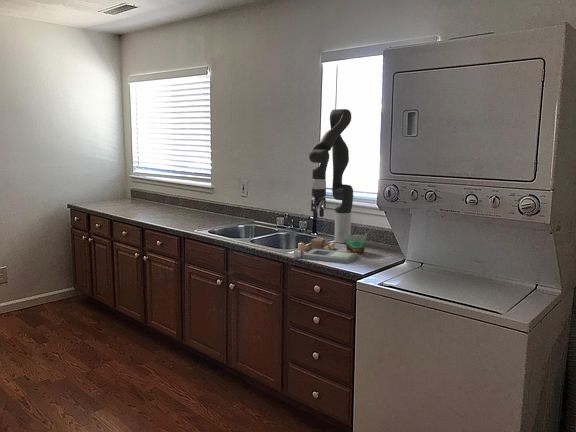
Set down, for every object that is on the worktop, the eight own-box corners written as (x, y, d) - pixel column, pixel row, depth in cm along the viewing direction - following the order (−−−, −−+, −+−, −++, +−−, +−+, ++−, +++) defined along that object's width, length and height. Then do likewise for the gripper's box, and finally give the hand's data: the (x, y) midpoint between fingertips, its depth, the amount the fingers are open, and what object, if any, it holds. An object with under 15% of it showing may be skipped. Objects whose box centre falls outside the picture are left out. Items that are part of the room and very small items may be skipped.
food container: (348, 255, 264) (348, 236, 262) (344, 252, 270) (344, 233, 268) (370, 253, 267) (370, 235, 265) (365, 251, 273) (366, 232, 271)
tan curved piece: (314, 245, 285) (314, 240, 285) (334, 248, 280) (334, 242, 280) (304, 251, 273) (304, 245, 273) (324, 253, 268) (324, 247, 267)
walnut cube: (315, 248, 279) (315, 238, 278) (325, 249, 276) (325, 239, 275) (310, 251, 274) (310, 240, 273) (321, 252, 271) (321, 241, 270)
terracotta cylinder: (299, 253, 267) (299, 242, 266) (304, 254, 266) (305, 242, 265) (297, 254, 264) (297, 243, 263) (302, 255, 263) (302, 244, 262)
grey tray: (314, 252, 270) (314, 248, 270) (357, 257, 260) (357, 252, 260) (302, 258, 257) (302, 254, 257) (347, 263, 247) (347, 259, 246)
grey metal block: (294, 256, 262) (294, 249, 261) (301, 256, 262) (301, 249, 261) (293, 257, 259) (293, 251, 258) (300, 258, 258) (300, 251, 258)
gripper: (317, 186, 277) (317, 215, 280) (306, 188, 265) (306, 219, 267) (330, 186, 274) (329, 216, 277) (320, 189, 262) (319, 220, 264)
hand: (318, 217), depth 272 cm, fingers open, 8 cm apart
